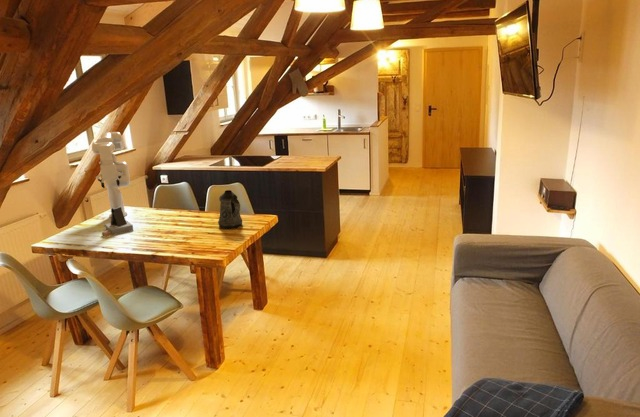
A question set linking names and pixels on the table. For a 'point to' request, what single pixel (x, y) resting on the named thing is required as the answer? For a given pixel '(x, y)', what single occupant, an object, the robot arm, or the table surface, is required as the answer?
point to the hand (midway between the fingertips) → (111, 186)
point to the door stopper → (117, 217)
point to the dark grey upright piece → (229, 211)
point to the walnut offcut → (106, 233)
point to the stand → (119, 228)
